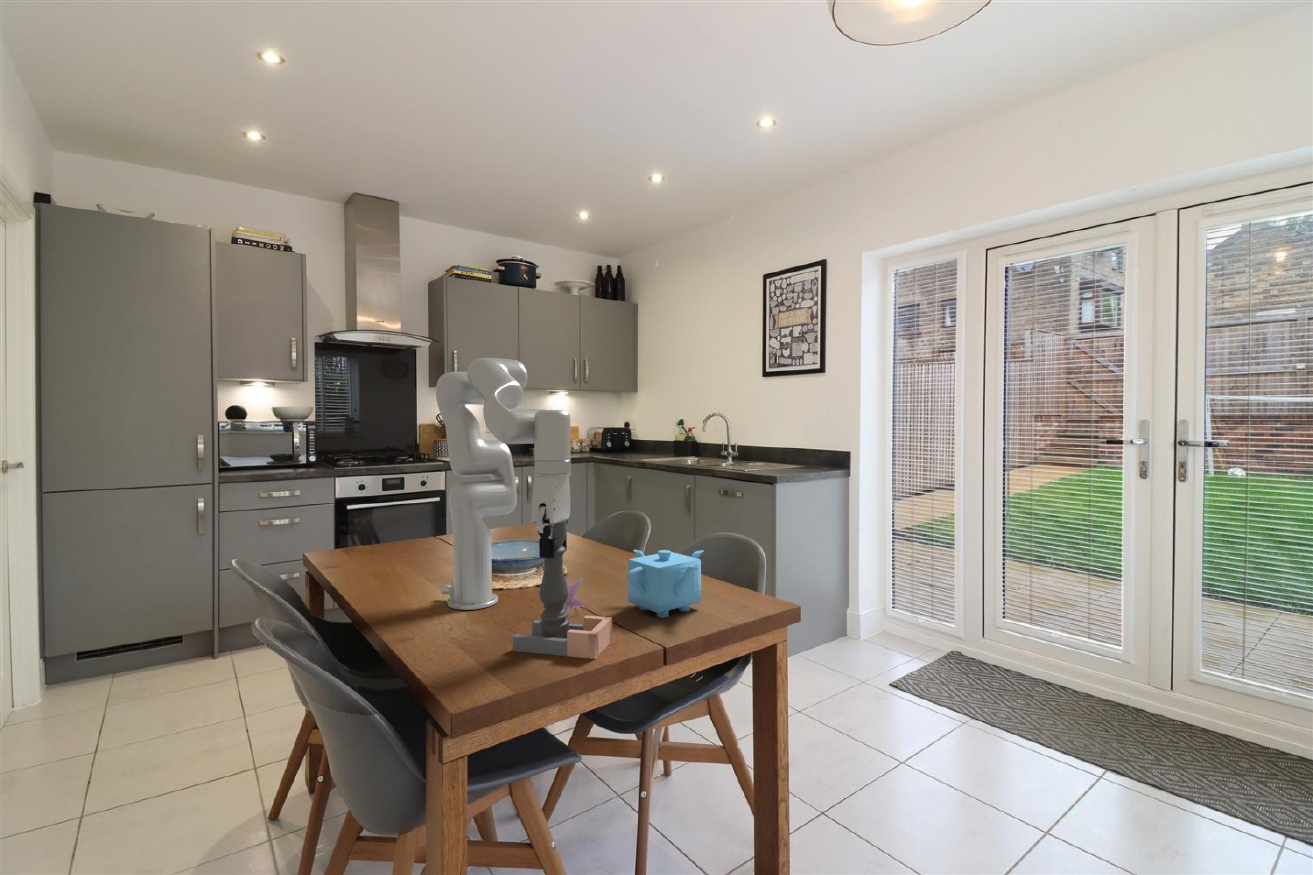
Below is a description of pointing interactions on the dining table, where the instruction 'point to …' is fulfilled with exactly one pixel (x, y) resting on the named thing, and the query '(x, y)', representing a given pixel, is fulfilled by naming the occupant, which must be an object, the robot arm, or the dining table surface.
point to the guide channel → (569, 639)
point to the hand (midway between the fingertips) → (553, 553)
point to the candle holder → (554, 589)
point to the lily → (573, 595)
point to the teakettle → (664, 581)
